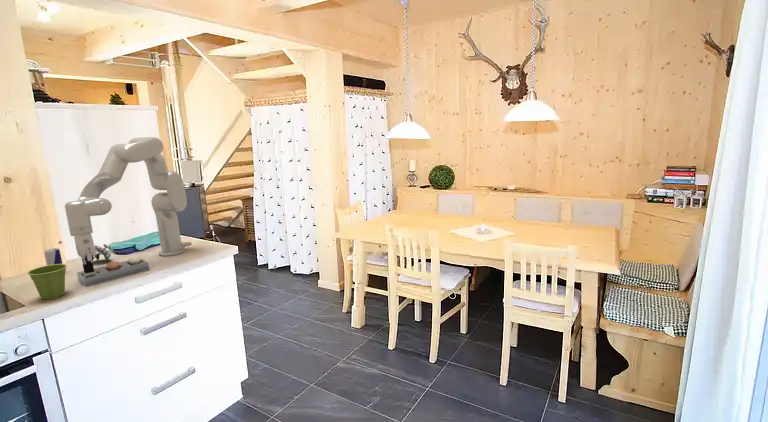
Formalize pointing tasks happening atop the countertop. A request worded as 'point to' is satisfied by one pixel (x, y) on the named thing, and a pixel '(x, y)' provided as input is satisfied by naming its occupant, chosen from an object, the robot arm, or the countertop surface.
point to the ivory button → (134, 260)
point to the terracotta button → (113, 265)
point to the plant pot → (49, 280)
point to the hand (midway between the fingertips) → (89, 272)
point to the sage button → (90, 273)
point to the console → (112, 272)
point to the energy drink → (53, 256)
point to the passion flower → (102, 252)
